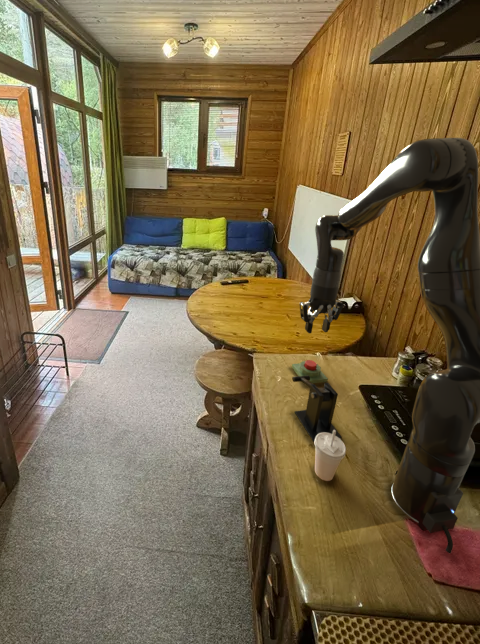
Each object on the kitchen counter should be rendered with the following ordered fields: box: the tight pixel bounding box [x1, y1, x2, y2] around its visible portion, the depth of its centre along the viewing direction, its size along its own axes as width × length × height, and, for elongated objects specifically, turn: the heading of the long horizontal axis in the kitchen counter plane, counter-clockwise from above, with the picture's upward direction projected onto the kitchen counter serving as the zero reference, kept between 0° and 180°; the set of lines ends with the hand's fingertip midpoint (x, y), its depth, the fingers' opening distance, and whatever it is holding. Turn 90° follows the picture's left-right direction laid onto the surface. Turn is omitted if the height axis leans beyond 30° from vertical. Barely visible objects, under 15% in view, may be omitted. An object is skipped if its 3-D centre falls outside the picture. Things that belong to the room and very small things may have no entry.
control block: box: [291, 360, 329, 384], centre depth 103 cm, size 9×8×4 cm
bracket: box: [294, 382, 342, 443], centre depth 81 cm, size 10×8×13 cm
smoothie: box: [313, 429, 347, 482], centre depth 68 cm, size 6×6×14 cm
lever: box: [291, 375, 330, 402], centre depth 85 cm, size 13×5×2 cm, turn 10°
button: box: [304, 359, 318, 371], centre depth 102 cm, size 4×4×2 cm
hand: (316, 331), depth 98 cm, fingers open, 5 cm apart
